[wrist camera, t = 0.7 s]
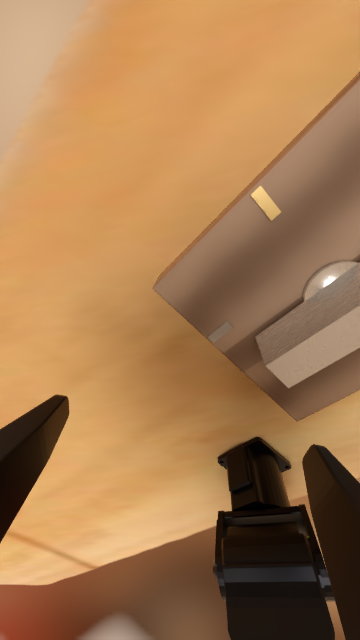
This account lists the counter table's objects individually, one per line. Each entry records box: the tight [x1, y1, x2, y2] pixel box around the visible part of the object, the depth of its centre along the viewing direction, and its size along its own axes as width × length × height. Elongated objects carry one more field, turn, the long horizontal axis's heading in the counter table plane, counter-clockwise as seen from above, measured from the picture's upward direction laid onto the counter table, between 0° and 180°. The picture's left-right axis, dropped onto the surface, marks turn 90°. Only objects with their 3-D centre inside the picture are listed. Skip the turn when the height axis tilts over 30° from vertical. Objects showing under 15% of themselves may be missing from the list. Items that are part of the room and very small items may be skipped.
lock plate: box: [153, 72, 360, 421], centre depth 18 cm, size 18×18×3 cm
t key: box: [255, 260, 360, 388], centre depth 16 cm, size 12×4×6 cm, turn 136°
